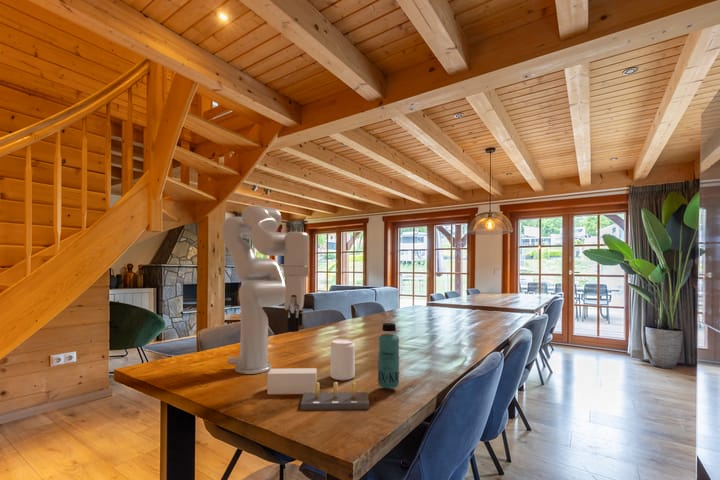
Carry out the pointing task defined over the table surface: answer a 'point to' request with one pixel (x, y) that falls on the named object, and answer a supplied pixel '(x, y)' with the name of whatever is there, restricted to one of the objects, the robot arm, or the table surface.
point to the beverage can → (342, 359)
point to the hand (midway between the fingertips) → (295, 328)
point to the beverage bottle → (388, 358)
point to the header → (335, 399)
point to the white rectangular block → (292, 381)
